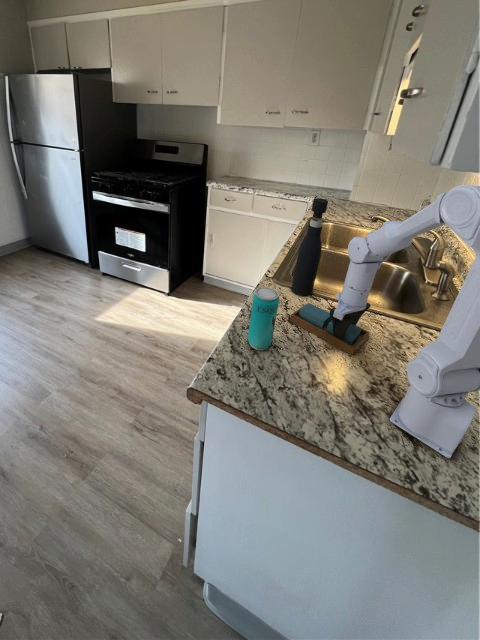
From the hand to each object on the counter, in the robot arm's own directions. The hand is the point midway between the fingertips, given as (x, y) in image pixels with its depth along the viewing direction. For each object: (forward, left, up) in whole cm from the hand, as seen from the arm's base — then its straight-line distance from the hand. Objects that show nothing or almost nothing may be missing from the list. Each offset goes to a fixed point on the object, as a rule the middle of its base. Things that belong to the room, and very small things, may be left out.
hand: (343, 330), depth 80 cm
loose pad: (0, 0, -1) cm, 1 cm away
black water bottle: (+19, -12, -2) cm, 23 cm away
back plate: (+4, 0, -2) cm, 4 cm away
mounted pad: (+8, 0, -2) cm, 8 cm away
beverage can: (+12, +19, -2) cm, 23 cm away
